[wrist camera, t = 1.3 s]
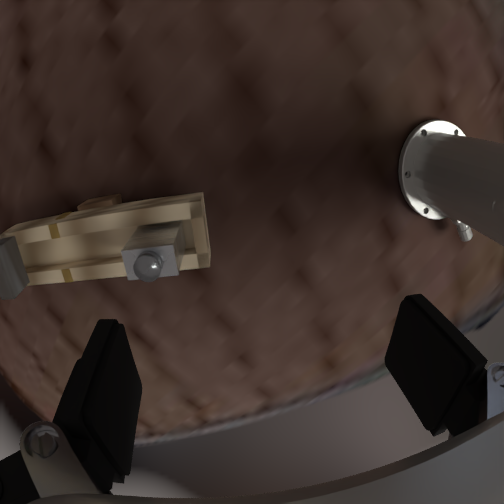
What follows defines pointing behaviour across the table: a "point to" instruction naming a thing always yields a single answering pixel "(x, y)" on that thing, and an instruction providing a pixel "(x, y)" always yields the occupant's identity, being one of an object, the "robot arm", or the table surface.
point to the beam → (95, 240)
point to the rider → (154, 251)
